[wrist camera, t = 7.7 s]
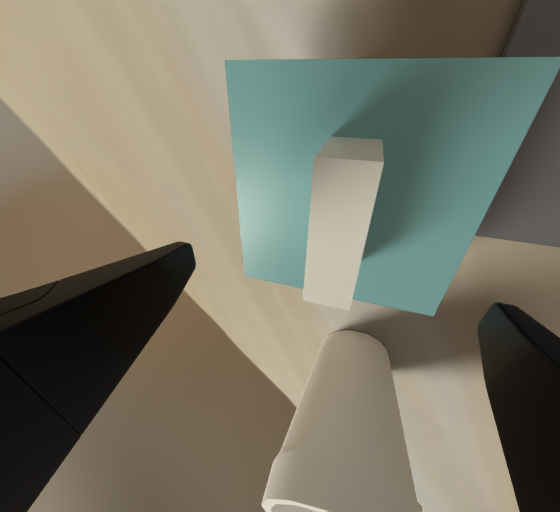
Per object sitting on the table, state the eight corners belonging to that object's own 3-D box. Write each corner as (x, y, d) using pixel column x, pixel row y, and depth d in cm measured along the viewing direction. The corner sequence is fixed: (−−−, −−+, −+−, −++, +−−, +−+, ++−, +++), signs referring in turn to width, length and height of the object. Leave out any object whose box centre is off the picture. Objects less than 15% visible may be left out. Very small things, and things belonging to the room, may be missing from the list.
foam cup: (323, 304, 23) (278, 484, 13) (426, 343, 22) (470, 577, 12) (297, 359, 29) (253, 514, 18) (378, 392, 27) (379, 577, 17)
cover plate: (550, 58, 8) (675, 43, 5) (430, 306, 14) (447, 375, 11) (233, 61, 11) (167, 52, 7) (249, 268, 17) (217, 315, 14)
